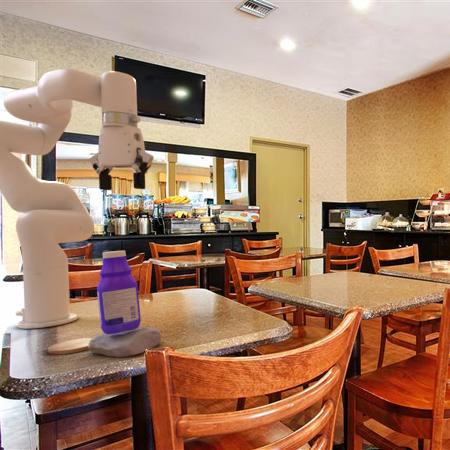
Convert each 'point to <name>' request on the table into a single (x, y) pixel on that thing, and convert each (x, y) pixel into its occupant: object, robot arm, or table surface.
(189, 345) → the table surface
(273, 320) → the table surface
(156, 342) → the stone block
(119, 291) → the bottle
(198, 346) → the table surface
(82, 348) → the cork coaster
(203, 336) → the table surface
